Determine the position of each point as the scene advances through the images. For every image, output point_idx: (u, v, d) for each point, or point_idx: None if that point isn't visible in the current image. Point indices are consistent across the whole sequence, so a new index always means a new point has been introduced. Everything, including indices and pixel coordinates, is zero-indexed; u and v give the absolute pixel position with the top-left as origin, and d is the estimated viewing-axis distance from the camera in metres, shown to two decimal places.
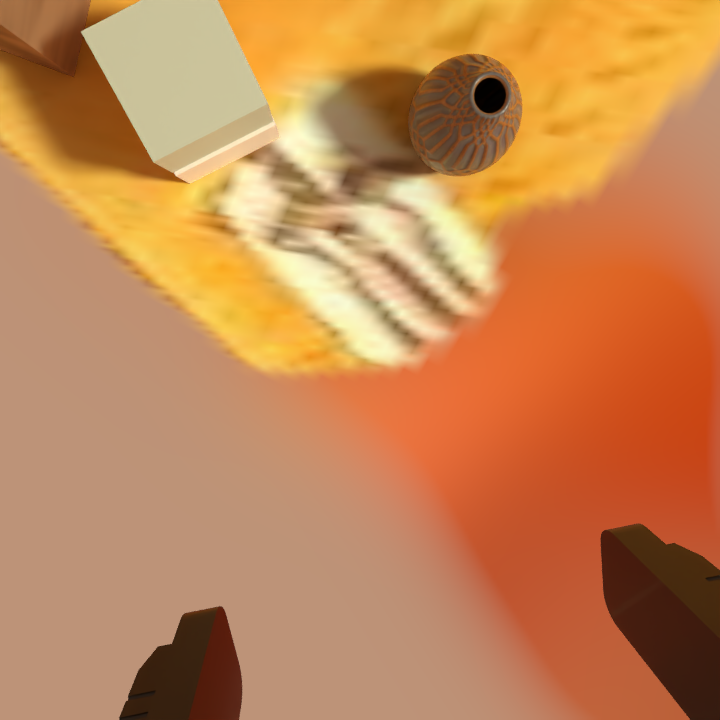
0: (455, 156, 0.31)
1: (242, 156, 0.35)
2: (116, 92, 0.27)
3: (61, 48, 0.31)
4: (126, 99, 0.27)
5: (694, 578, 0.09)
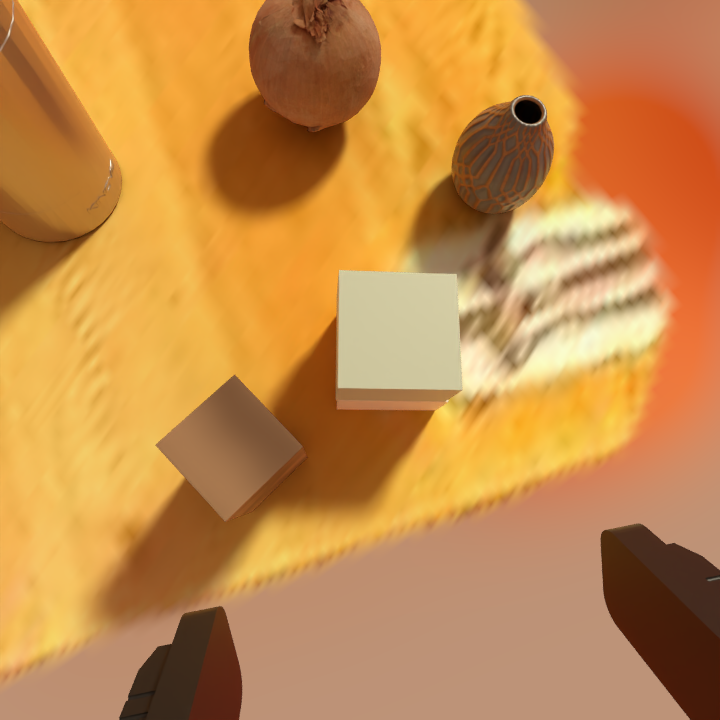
0: (542, 168, 0.35)
1: None
2: (395, 387, 0.29)
3: None
4: (404, 382, 0.29)
5: (694, 578, 0.09)
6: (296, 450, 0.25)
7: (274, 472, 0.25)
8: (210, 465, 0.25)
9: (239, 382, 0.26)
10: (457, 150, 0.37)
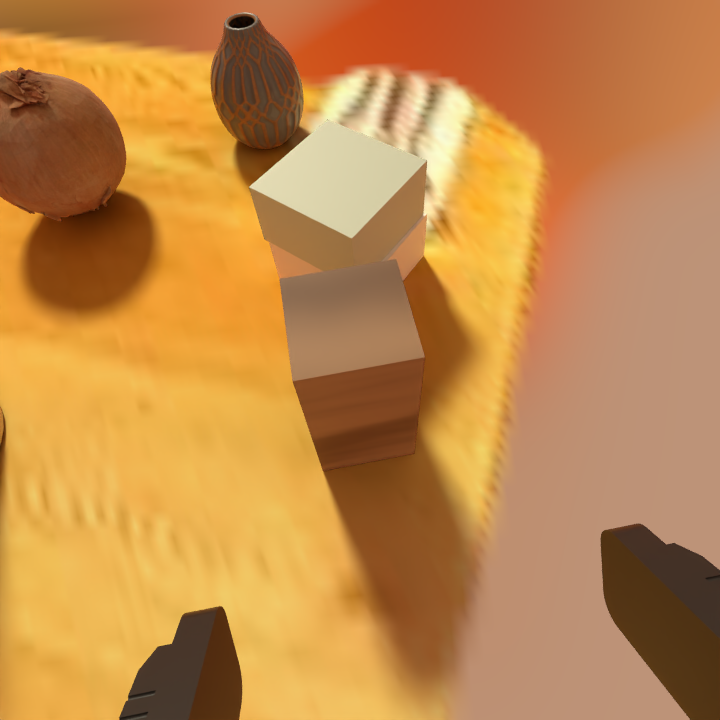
0: (290, 57, 0.38)
1: None
2: (386, 199, 0.27)
3: None
4: (387, 192, 0.27)
5: (694, 578, 0.09)
6: (396, 265, 0.22)
7: (404, 292, 0.21)
8: (355, 342, 0.20)
9: (290, 278, 0.21)
10: (224, 107, 0.38)
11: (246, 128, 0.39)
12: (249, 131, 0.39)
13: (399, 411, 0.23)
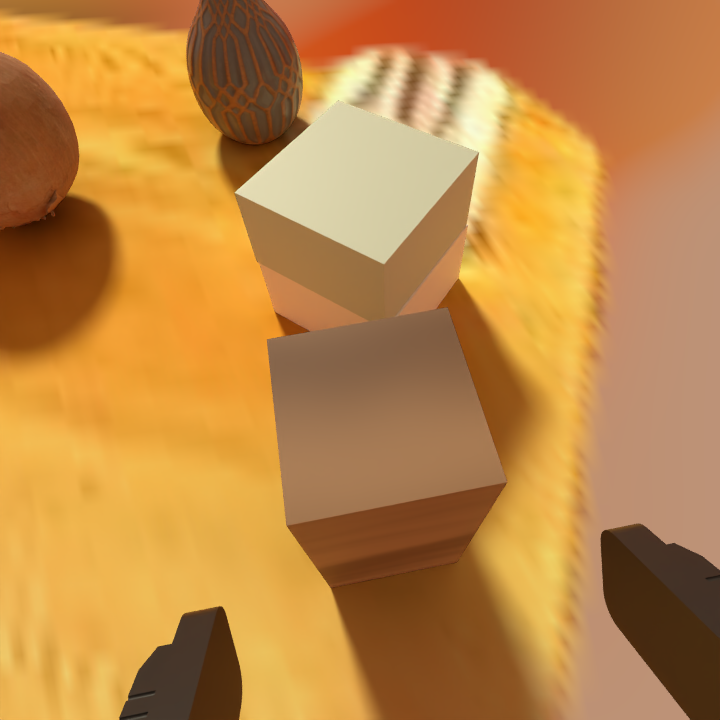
0: (286, 28, 0.30)
1: None
2: (428, 207, 0.19)
3: None
4: (429, 197, 0.19)
5: (694, 578, 0.09)
6: (448, 317, 0.14)
7: (464, 364, 0.13)
8: (389, 453, 0.12)
9: (284, 338, 0.14)
10: (203, 91, 0.30)
11: (231, 118, 0.31)
12: (235, 121, 0.31)
13: (448, 533, 0.15)
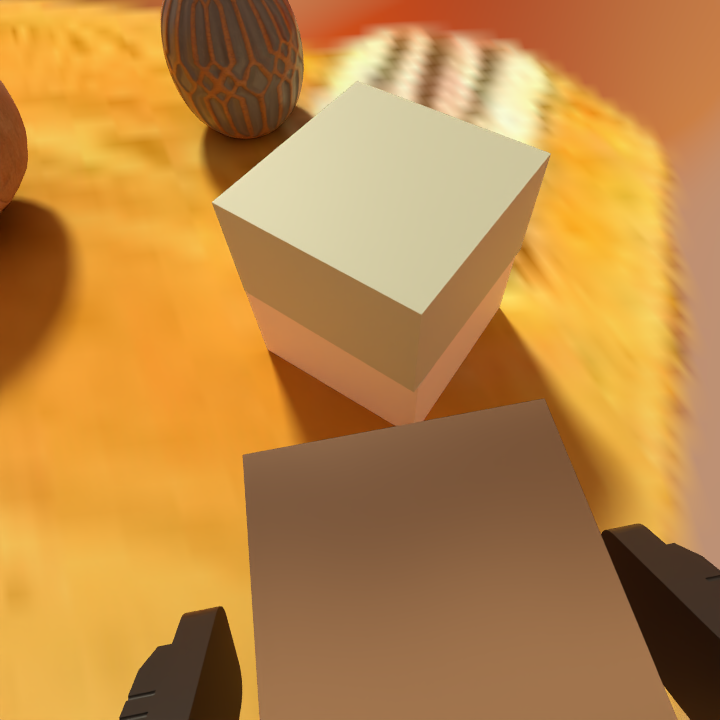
0: None
1: None
2: (484, 230, 0.13)
3: None
4: (484, 215, 0.14)
5: (694, 578, 0.09)
6: (548, 418, 0.08)
7: (586, 509, 0.08)
8: (466, 703, 0.06)
9: (272, 454, 0.08)
10: (181, 72, 0.24)
11: (216, 105, 0.25)
12: (221, 110, 0.25)
13: None
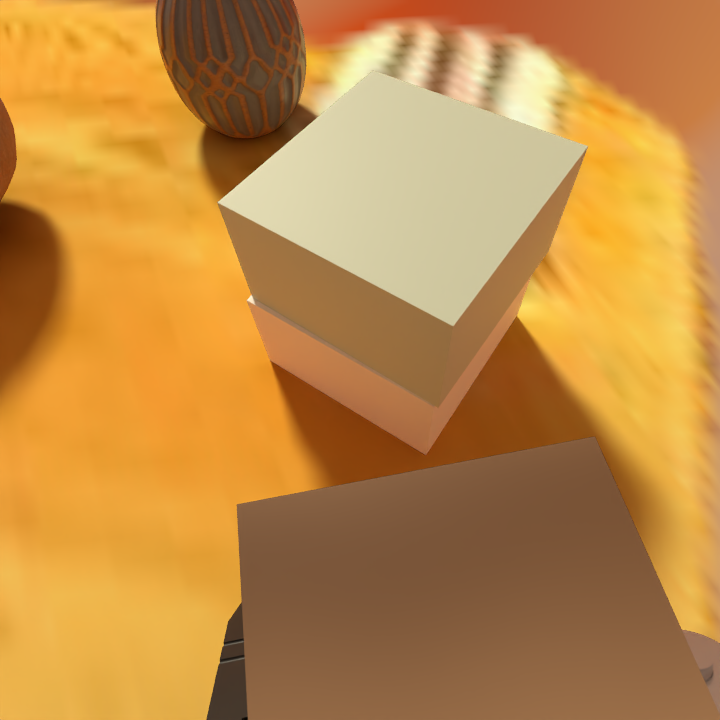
0: None
1: None
2: (519, 231, 0.12)
3: None
4: (518, 214, 0.12)
5: None
6: (601, 461, 0.07)
7: (652, 577, 0.06)
8: None
9: (272, 504, 0.07)
10: (177, 68, 0.23)
11: (214, 103, 0.24)
12: (220, 108, 0.24)
13: None
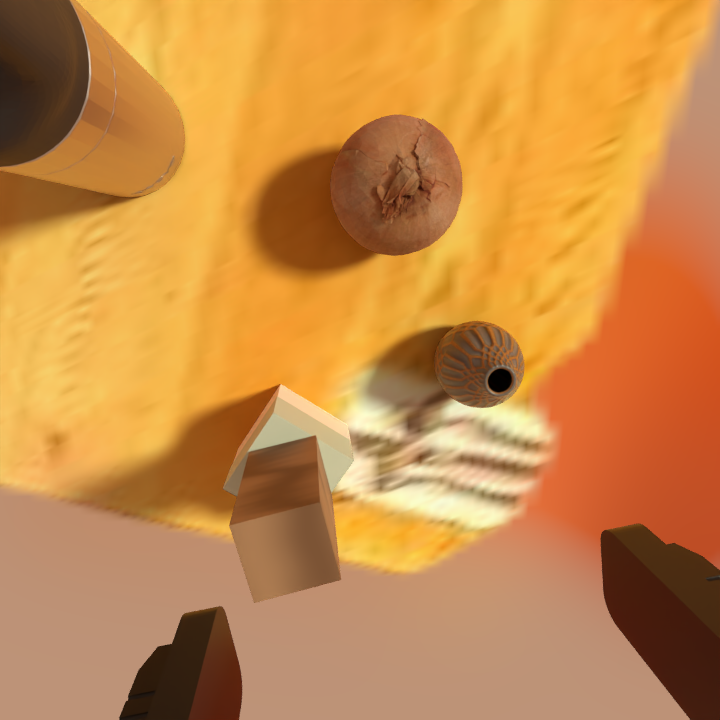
0: (489, 406, 0.40)
1: None
2: None
3: (330, 497, 0.36)
4: None
5: (694, 578, 0.09)
6: (334, 580, 0.29)
7: (309, 587, 0.29)
8: (263, 560, 0.28)
9: (320, 510, 0.28)
10: (449, 340, 0.40)
11: (436, 354, 0.42)
12: (435, 355, 0.42)
13: None
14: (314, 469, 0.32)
